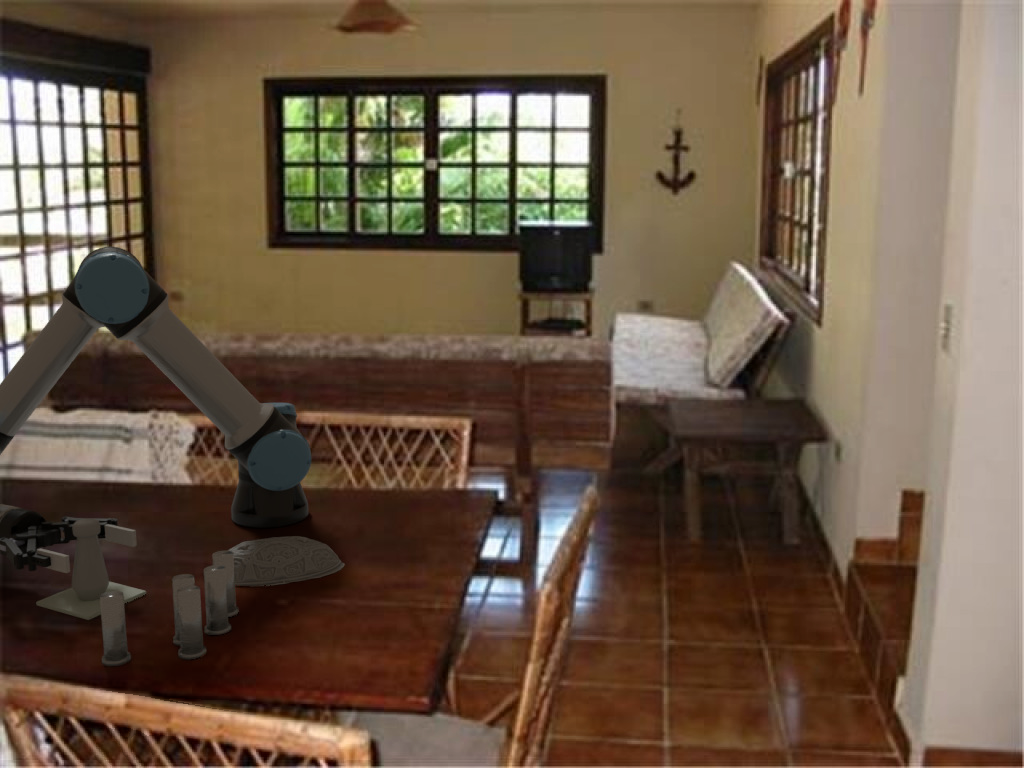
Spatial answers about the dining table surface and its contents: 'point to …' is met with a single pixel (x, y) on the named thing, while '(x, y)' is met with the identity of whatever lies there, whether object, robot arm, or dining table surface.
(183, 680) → the dining table surface
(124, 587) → the coaster
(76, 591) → the salt shaker
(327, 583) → the dining table surface
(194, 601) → the spacers
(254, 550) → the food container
